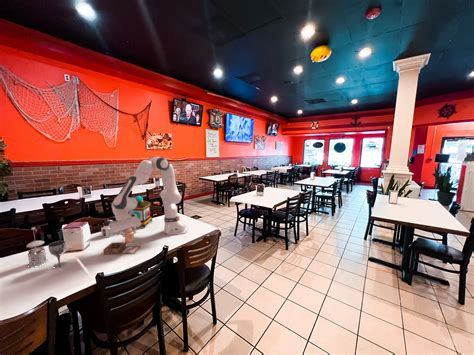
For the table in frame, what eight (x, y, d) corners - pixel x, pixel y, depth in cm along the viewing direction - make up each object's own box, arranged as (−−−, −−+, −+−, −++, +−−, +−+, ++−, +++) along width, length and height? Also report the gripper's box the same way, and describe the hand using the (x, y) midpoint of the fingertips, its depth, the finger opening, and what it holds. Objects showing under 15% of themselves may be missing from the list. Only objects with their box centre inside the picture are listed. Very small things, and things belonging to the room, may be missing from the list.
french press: (29, 269, 118) (23, 232, 115) (24, 263, 124) (19, 227, 121) (50, 262, 127) (46, 226, 123) (45, 256, 133) (40, 222, 129)
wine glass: (48, 270, 118) (45, 247, 116) (53, 263, 125) (51, 242, 123) (65, 266, 122) (62, 245, 120) (69, 260, 129) (66, 239, 127)
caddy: (141, 247, 149) (141, 241, 148) (134, 255, 137) (134, 249, 136) (112, 247, 147) (112, 241, 146) (102, 256, 135) (102, 250, 135)
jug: (123, 242, 141) (123, 229, 139) (132, 239, 145) (131, 226, 144) (128, 245, 136) (127, 232, 134) (137, 242, 141) (136, 229, 139)
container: (109, 237, 163) (108, 223, 161) (101, 236, 165) (100, 222, 163) (116, 233, 171) (115, 219, 169) (109, 232, 172) (108, 218, 170)
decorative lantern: (124, 228, 182) (122, 198, 177) (135, 220, 201) (133, 193, 197) (145, 228, 182) (144, 198, 177) (154, 221, 202) (153, 193, 197)
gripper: (108, 220, 135) (115, 237, 130) (138, 213, 151) (144, 228, 146) (106, 225, 138) (113, 241, 133) (135, 217, 154) (142, 232, 149)
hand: (129, 234), depth 140 cm, fingers closed on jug, 6 cm apart
